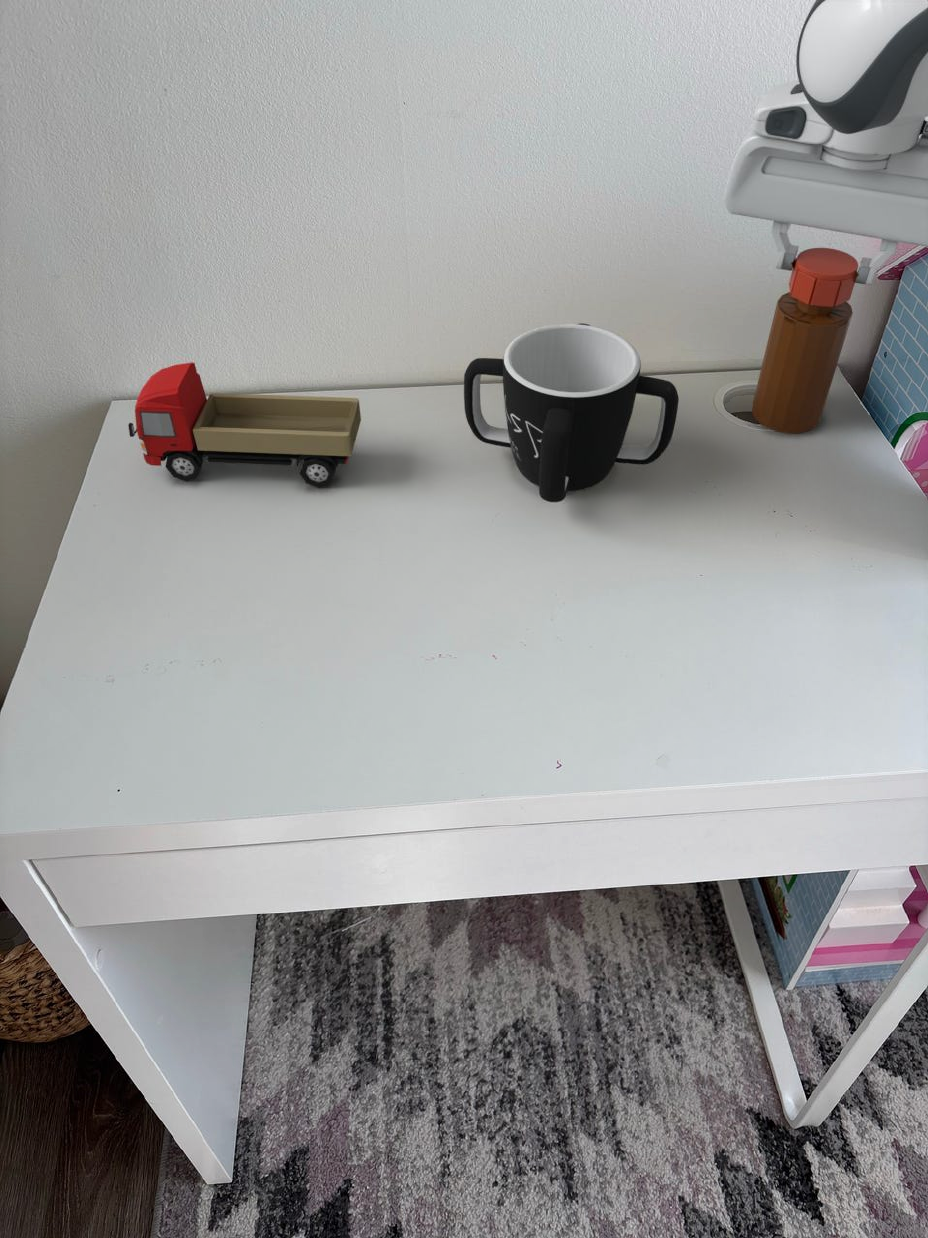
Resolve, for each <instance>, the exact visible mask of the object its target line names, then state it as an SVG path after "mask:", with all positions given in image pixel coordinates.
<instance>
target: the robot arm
mask: <svg viewBox="0 0 928 1238" xmlns="http://www.w3.org/2000/svg"><path fill="white" fill-rule="evenodd" d="M806 16H807V17H806V18H805V21H804V22H803V25H802V29H801V31H800V33H799V38H798V41H797V46H796V47H797V48H796V56H795V57H796V60H795V63H796V64H795V65H796V67H795V68H796V74H797V80H793V81H789V82H788V81H787V82H783V83H779V84H776V85H773V86H772V87H771V88H770V89H769V90H768V91H767V92H765V94H763V96H762V97H761V98H760V100H759V102H758V104H756V108H755V110H754V113H753V119H752V127H751V129H750V130H749V131H748V133H747V134H746V136H745V137H744V139H743V140H742V143H741V144H740V145H739V148H738V149H737V151H736V154H735V156H734V159H733V162H732V164H731V167H730V171H729V173H728V177H727V181H726V184H725V189H724V193H723V200H722V201H723V204H724V206H725V208H726V210H727V211H728V213H729V214H732V215H737V216H742V217H749V218H754V219H760V220H767V221H772V222H773V223H772V226H771V229H770V233H771V236H772V238H773V241H774V244H775V247H776V249H777V251H778V255H777V260H776V263H775V269H777V270H784V271H789V272H792V270H793V266H794V262H795V260H796V258H797V256H798V253H799V248H800V246H798V245H795V244H791V242H790V237H789V234H788V232H789V230H790V228H791V226H792V225H796V226H802V227H808V228H813V229H821V230H827V231H832V232H836V233H837V232H839V233H844V234H848V235H849V234H850V235H855V236H862V237H868V238H872V239H873V238H874V239H880V240H881V241H880V245H879V248H878V250H879V251H878V252H876V254H875V255H874V256H873V257H862V258H861V260H860V264H859V265H858V269H857V273H858V274H857V276H856V280H855V284H860V285H865V286H872V284H873V281H874V278H875V274H876V272H877V270H879V269H880V267H882V266H883V265H884V264H885V263H886V262H887V261H888V260H889V259H890V258H892V257H893V256H894V255H895V254H896V252H897V248H898V245H899V243H903V244H909V245H915V246H920V247H926V248H928V120H926V118H927V117H928V0H815V1H814V3H813V5H812V6H811V8H810V10H809V12H808V14H807V15H806Z"/></svg>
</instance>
